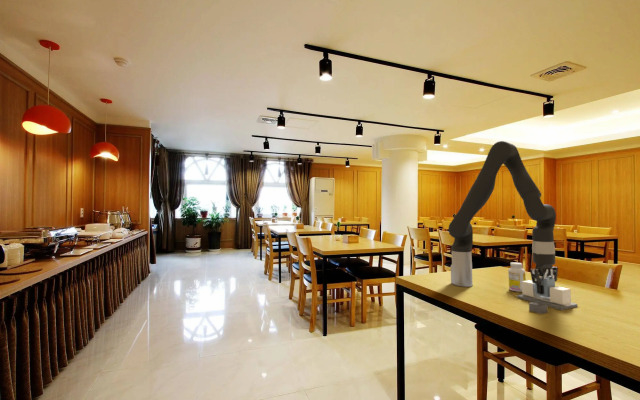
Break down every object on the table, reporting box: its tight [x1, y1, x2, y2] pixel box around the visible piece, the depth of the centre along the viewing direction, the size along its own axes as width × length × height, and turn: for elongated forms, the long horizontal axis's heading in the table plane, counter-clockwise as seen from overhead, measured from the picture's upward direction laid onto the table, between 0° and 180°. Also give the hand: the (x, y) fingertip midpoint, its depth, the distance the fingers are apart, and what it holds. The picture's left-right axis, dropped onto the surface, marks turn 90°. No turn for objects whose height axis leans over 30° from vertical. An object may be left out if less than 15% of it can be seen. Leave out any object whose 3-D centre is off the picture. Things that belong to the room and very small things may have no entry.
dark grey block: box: [528, 301, 548, 315], centre depth 109 cm, size 4×4×3 cm
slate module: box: [535, 278, 556, 298], centre depth 119 cm, size 4×5×7 cm
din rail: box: [516, 279, 579, 311], centre depth 119 cm, size 17×10×7 cm, turn 20°
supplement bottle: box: [507, 261, 527, 293], centre depth 136 cm, size 7×7×13 cm
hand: (545, 292), depth 119 cm, fingers open, 5 cm apart
